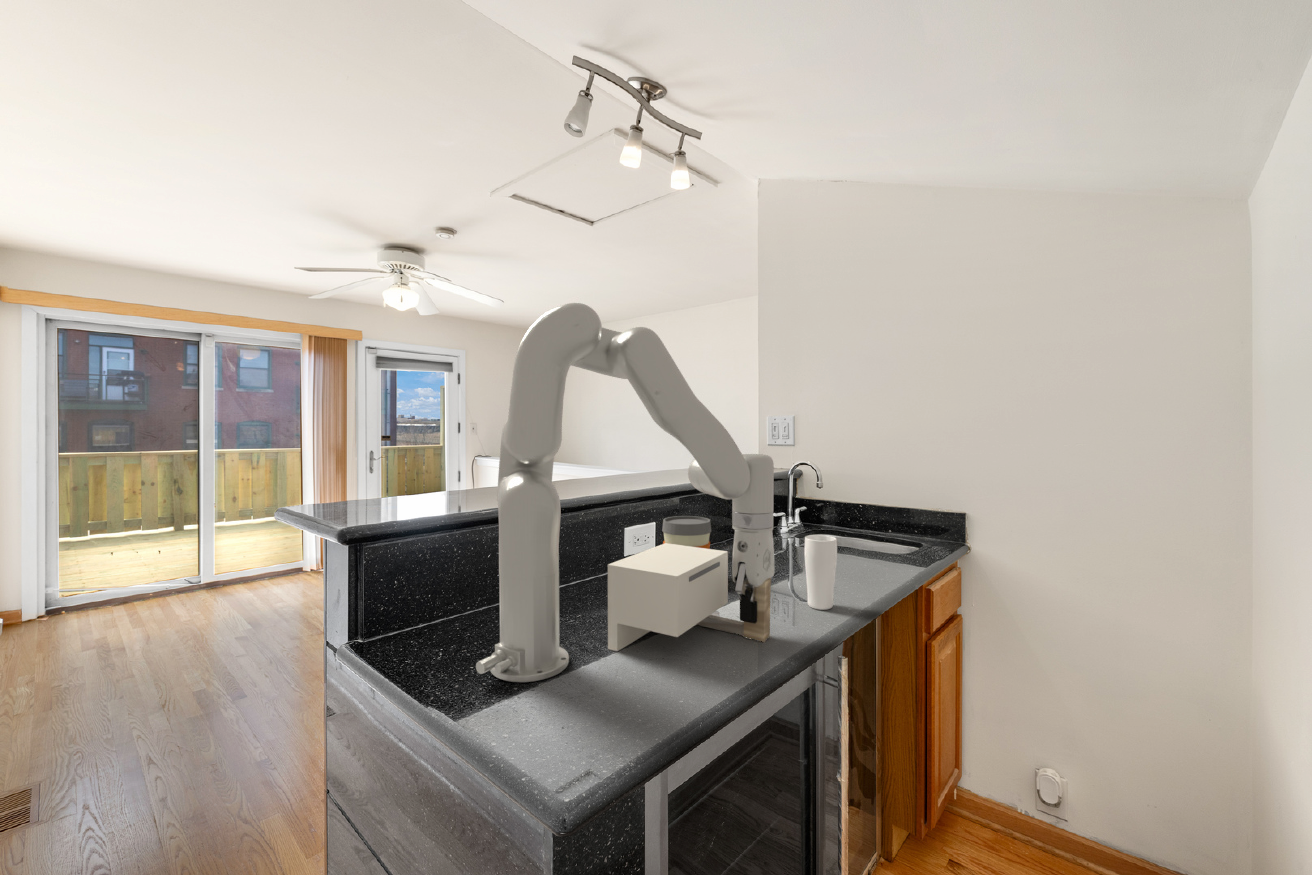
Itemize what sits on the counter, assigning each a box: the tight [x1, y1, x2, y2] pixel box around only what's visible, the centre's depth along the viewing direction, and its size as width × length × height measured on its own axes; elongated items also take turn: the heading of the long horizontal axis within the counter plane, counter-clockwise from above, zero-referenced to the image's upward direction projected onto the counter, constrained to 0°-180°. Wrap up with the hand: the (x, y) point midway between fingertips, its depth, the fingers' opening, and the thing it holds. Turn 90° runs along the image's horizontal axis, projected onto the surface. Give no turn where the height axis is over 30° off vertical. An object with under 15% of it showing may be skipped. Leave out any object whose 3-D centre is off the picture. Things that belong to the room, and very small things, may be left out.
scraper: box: [695, 578, 772, 643], centre depth 106 cm, size 3×18×11 cm, turn 58°
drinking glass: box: [803, 534, 838, 611], centre depth 119 cm, size 7×7×15 cm
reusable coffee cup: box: [661, 515, 712, 549], centre depth 141 cm, size 13×13×15 cm
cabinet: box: [607, 543, 729, 652], centre depth 102 cm, size 20×14×15 cm
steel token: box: [710, 610, 721, 617], centre depth 111 cm, size 5×5×2 cm
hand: (752, 617), depth 103 cm, fingers closed on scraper, 2 cm apart
